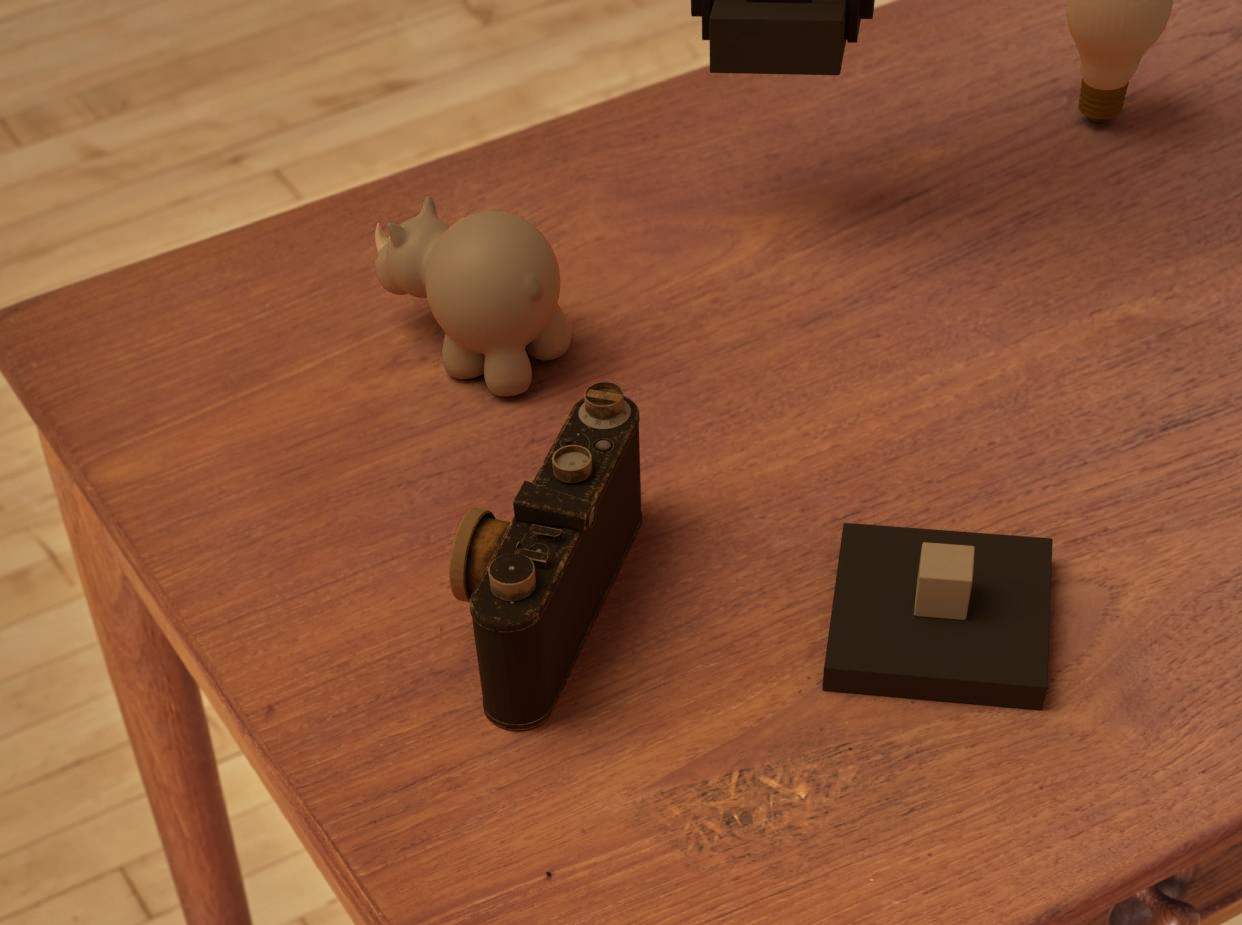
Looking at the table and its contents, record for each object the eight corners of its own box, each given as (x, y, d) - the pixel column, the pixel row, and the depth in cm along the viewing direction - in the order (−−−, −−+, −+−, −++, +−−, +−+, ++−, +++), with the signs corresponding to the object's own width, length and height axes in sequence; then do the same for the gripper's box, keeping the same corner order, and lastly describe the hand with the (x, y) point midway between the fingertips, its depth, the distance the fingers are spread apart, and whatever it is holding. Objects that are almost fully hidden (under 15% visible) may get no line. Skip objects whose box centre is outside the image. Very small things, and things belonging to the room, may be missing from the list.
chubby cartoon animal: (432, 279, 105) (414, 142, 99) (592, 351, 100) (585, 211, 94) (348, 342, 102) (323, 204, 96) (509, 419, 97) (495, 279, 90)
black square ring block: (851, 11, 101) (854, -45, 98) (840, 76, 96) (843, 19, 94) (726, 9, 102) (726, -46, 99) (709, 73, 98) (709, 18, 95)
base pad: (1047, 561, 88) (1061, 497, 85) (1042, 710, 82) (1056, 647, 79) (841, 545, 90) (847, 481, 87) (822, 690, 84) (827, 628, 81)
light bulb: (1049, 146, 110) (1078, -22, 101) (1047, 94, 113) (1074, -72, 105) (1150, 147, 109) (1186, -21, 101) (1144, 95, 112) (1179, -72, 104)
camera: (536, 486, 94) (525, 356, 87) (659, 509, 92) (656, 378, 86) (416, 710, 85) (394, 583, 79) (549, 740, 83) (537, 612, 77)
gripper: (985, -385, 85) (947, -2, 99) (621, -376, 88) (635, -6, 102) (977, -323, 81) (939, 68, 95) (594, -316, 84) (613, 61, 98)
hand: (781, 27), depth 98 cm, fingers closed on black square ring block, 7 cm apart
